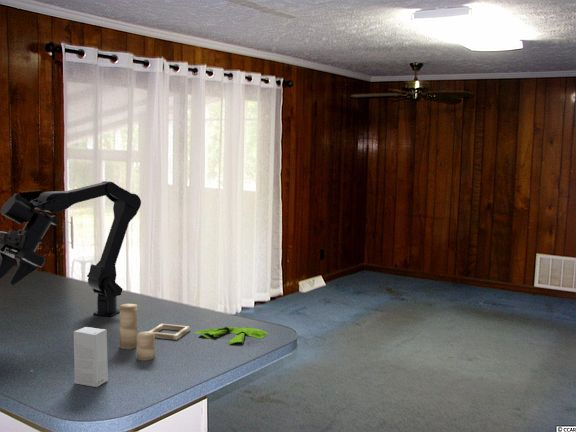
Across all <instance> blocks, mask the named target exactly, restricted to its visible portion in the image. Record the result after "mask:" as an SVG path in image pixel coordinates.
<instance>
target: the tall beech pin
mask: <svg viewBox="0 0 576 432" xmlns="http://www.w3.org/2000/svg"><path fill="white" fill-rule="evenodd" d="M119 309H120V312H119V348H120V349H121V350H132V349H137V334H138V304H136V303H123V304H121V305H119Z"/></svg>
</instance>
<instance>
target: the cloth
mask: <svg viewBox="0 0 576 432" xmlns="http://www.w3.org/2000/svg"><path fill="white" fill-rule="evenodd" d="M193 333H194V334H195V335H199V336H198V339H200V338H206V339H208V340H215V339H217V338H220V337H221V336H222V335H223V336H224V335H227V334H228V333H229V334H232V335H233V334H234V335H235V336H234V337H233V338H232V339H230V340H229V341H228V343H227V345H228V346H231V345H232V344H233V345H236V346H237V345H244V340H245V336H248V337H251V338H256V339H263V338H265V336H269V333H268V332H267V331H265V330H263V329H260V328H259V329H258V328H255V327H235V326H224V327H217V328H216V327H215V328H213V329H212V328H206V329H203V330H197V331H194V332H193Z"/></svg>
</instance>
